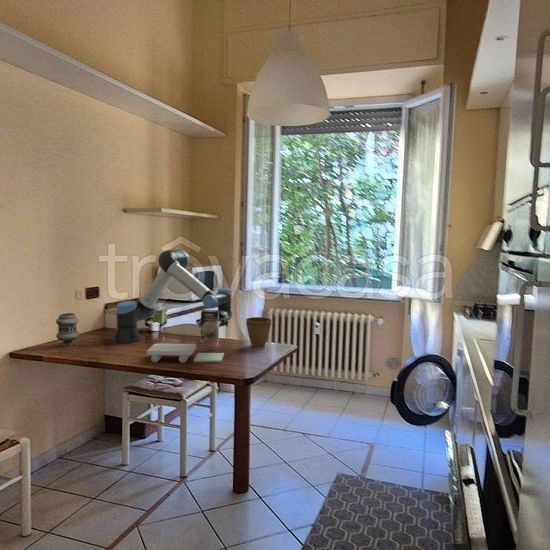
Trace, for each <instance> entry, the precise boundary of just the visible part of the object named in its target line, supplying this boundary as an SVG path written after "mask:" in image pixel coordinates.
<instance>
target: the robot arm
mask: <svg viewBox="0 0 550 550" xmlns="http://www.w3.org/2000/svg"><path fill="white" fill-rule="evenodd" d="M190 262H191V260H190V256H189V254H188V253H187V251H185V250H183V249H171V250H170V249H169V250H168V249H166V250H164V251H162V252H161V253H160V254H158V259H157V264H158V266H159V268H160V269H161V270H160V271H159V272H158V274H157V275H156V276H155V279H154V280H153V281H152V282H151V284H150V286H148V289H147V290H146V291H145V293H144V295H139V297H138V299H137V300H136V301H135V300H127V301H121V302H119V303H117V305H116V311H115V312H116V330H115V334H114V336H113V342H114V343H117V344H131V343H137V342H139V341H141V334H140V333H139V329H138V322H139V321H143V320H144V321H146V320H148V318H150V317H152V316H153V315H154V313H155V307H157V301H158V300H159V298H160V297H161V296H162V295H163V293H164V291H165V290H166V289H167V287H168V286H169V284H171V281H172V280H173V279H175V280H177V281H178V282H179V284H182V285H183V286H184V287H185V288H186V289H188V290H189V291H190V292H191V293H192V294H194V295H195V296H196V297H197V298H198V299H199V300H201V301H202V303H203V306H204V308H205V309H207V310H212V309H215V308H217V310H219V322H218V323H216V329H218V328H219V329H220V328H222V327H224V326H225V327H228V324H229V321H231V318H233V310H232V309H231V307H232V302H231V301H232V291H231V288H227V287H225V288H218V289H217V293H215V292H214V291H212V290H211V289H210V288H208V287H207V286H206V285H205V284H204V283H203V282H201V281H200V280H199V279H198V278H197V277H195V276H194V275H193V274H192V273H190V271H188V270H187V268H188V266H189V265H190ZM195 325H196V328H197V329H198V328H201V318H199V319H196V320H195Z"/></svg>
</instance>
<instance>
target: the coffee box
mask: <svg viewBox="0 0 550 550" xmlns="http://www.w3.org/2000/svg"><path fill="white" fill-rule="evenodd" d="M200 319H201V326H200V343H218V342H219V339H220V338H219V337H220V336H219V335H220V334H219V331H220V330H219V329H220V328H218V329H216V323H218V322H219V310H218V309H217V310H216V309H215V310H213V309H201V311H200Z"/></svg>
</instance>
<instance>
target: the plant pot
mask: <svg viewBox="0 0 550 550" xmlns="http://www.w3.org/2000/svg"><path fill="white" fill-rule="evenodd" d="M245 322H246V331H247V335H248V339H249V341H250V344H251V347H252V346H253V348H256V347H261V348H264V347H265V346H266V343H267V341H268V337H269V335H270V329H271V326H272V319H271V318H269V317H263V316H261V317H260V316H253V317H248V318H246V319H245ZM263 346H264V347H263Z"/></svg>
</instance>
